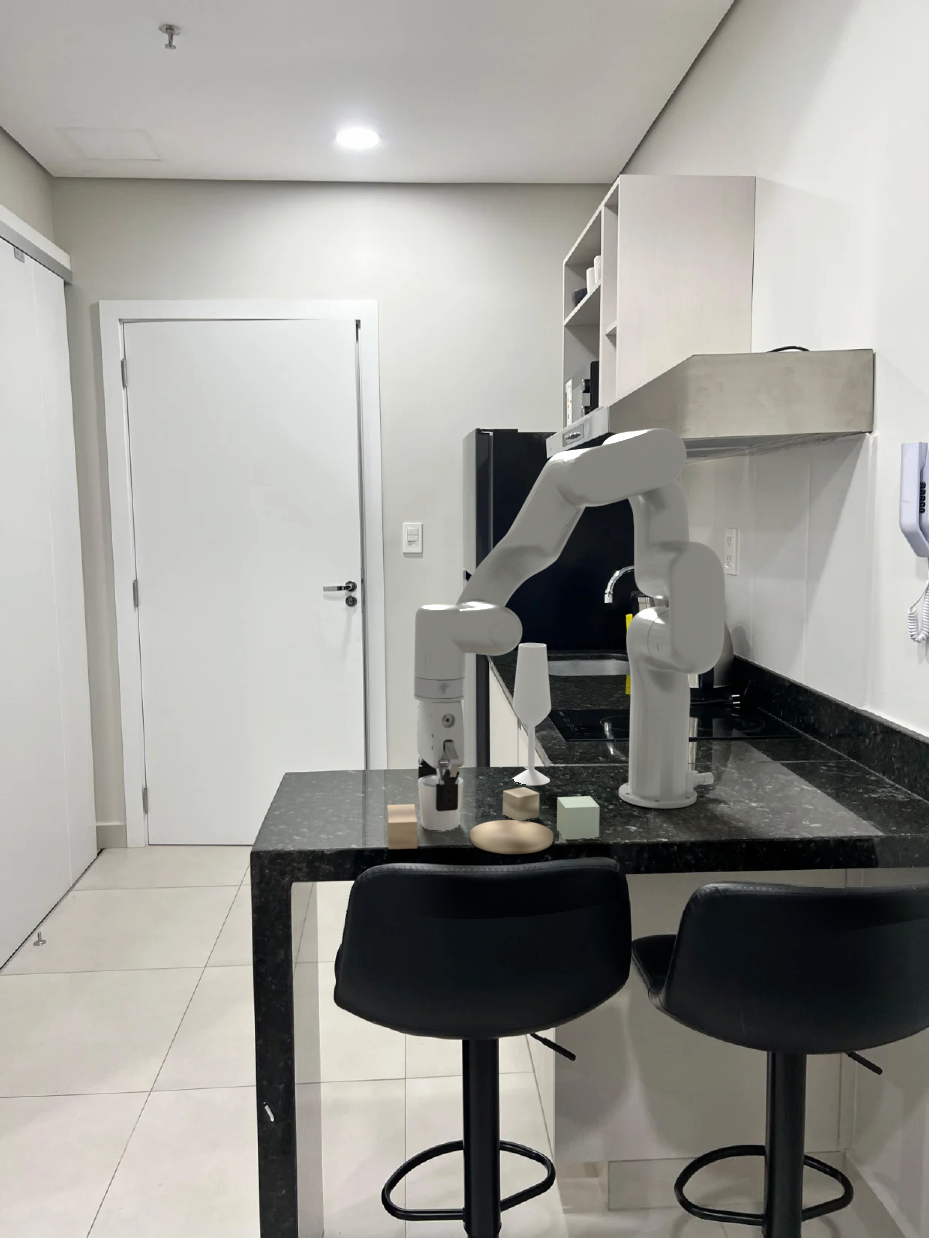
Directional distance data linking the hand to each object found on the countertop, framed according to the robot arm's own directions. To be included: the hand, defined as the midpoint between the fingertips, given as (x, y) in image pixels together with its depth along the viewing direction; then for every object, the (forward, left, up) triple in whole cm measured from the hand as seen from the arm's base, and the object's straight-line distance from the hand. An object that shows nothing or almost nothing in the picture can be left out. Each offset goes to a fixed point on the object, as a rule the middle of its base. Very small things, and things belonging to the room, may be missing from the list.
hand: (437, 800), depth 141 cm
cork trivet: (-9, +9, -4) cm, 13 cm away
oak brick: (+6, +4, -4) cm, 9 cm away
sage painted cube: (-19, +10, -4) cm, 21 cm away
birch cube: (-14, 0, -4) cm, 14 cm away
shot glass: (-1, 0, -4) cm, 4 cm away
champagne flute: (-23, -18, -4) cm, 29 cm away
